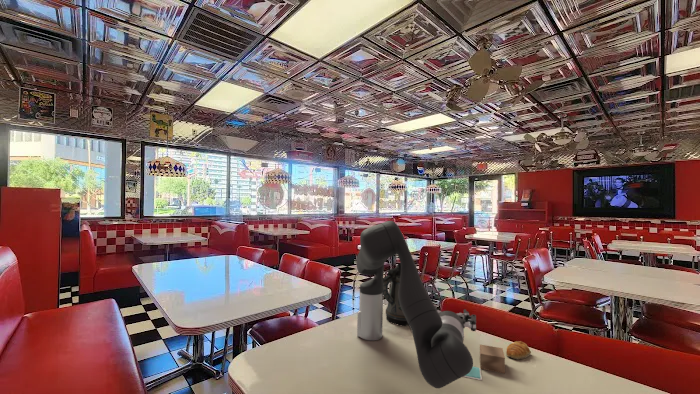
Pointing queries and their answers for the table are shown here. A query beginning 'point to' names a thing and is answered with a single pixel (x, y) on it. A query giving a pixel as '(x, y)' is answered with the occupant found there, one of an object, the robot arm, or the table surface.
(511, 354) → the pastry
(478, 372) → the tile
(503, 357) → the walnut block
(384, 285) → the beer stein
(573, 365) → the table surface
